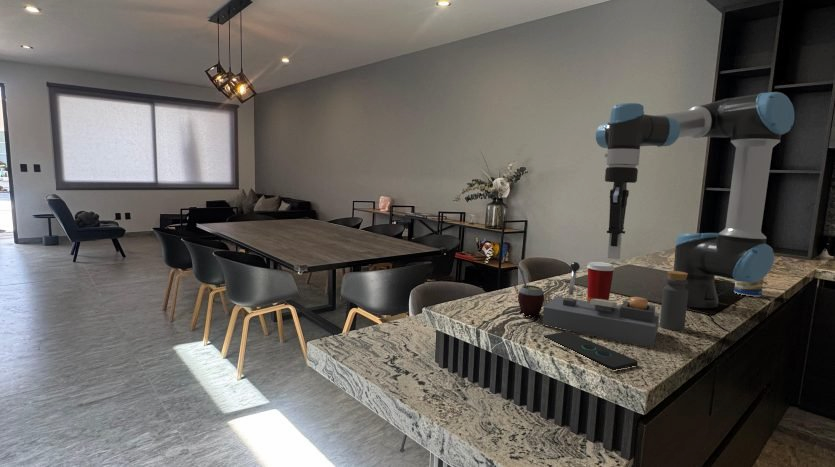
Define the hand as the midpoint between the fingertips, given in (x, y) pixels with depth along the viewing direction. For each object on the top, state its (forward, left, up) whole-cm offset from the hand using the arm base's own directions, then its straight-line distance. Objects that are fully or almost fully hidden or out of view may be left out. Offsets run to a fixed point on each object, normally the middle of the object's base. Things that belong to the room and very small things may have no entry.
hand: (613, 258), depth 119 cm
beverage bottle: (-73, +36, -19) cm, 84 cm away
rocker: (+3, -1, -11) cm, 12 cm away
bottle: (-11, +14, -19) cm, 26 cm away
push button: (+3, +7, -11) cm, 14 cm away
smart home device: (+23, -1, -19) cm, 30 cm away
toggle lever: (+3, -9, -11) cm, 15 cm away
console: (+3, -2, -18) cm, 19 cm away
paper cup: (-16, -6, -19) cm, 25 cm away
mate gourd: (+3, -21, -19) cm, 28 cm away
